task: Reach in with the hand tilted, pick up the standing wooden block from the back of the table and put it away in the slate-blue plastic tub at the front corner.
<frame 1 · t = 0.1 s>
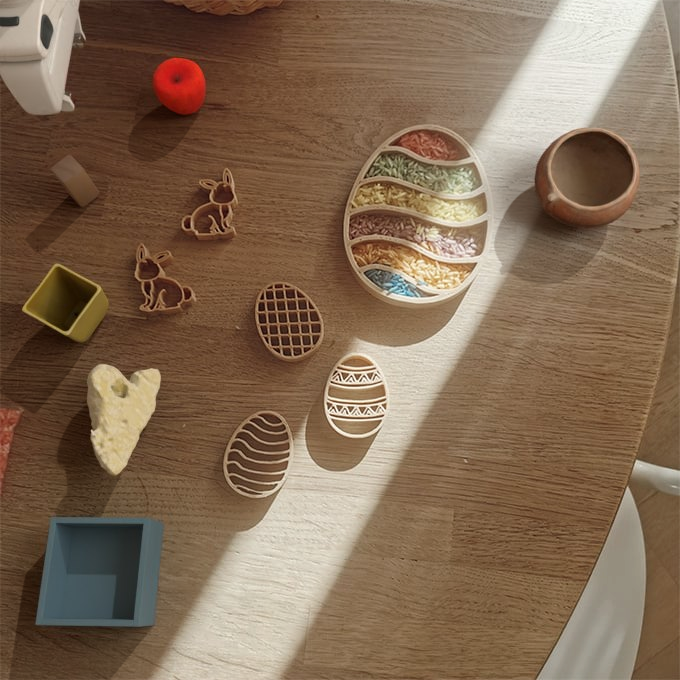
hand: (74, 75, 91), 33 cm above the table, tool pointing down, fingers open, 8 cm apart
apple: (187, 105, 129), on the table
wooden block: (85, 195, 124), on the table
bowl: (577, 197, 119), on the table
flower pot: (85, 321, 116), on the table
cheese: (135, 426, 110), on the table
tub: (111, 572, 102), on the table
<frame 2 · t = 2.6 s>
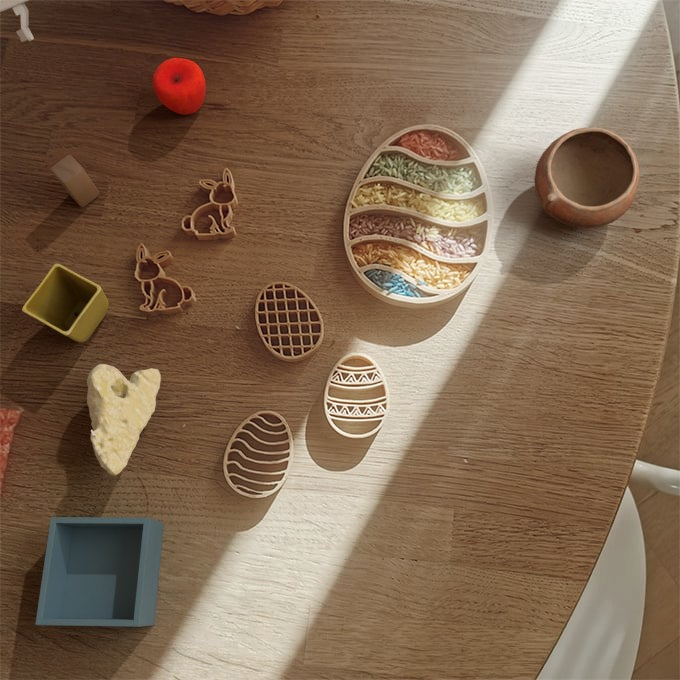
nothing on the table moved.
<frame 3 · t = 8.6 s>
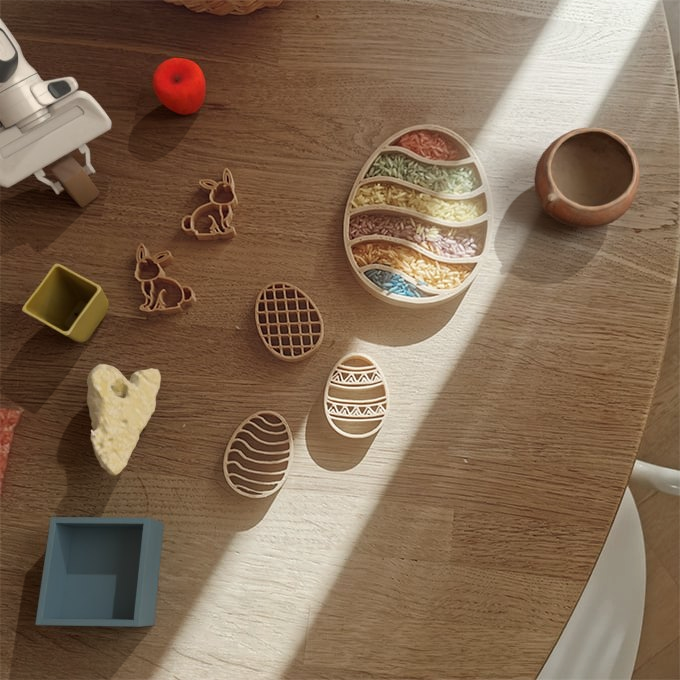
hand: (76, 183, 120), 4 cm above the table, tool tilted 45°, fingers closed on wooden block, 4 cm apart
wooden block: (85, 195, 124), on the table, touching gripper
everything else where it was.
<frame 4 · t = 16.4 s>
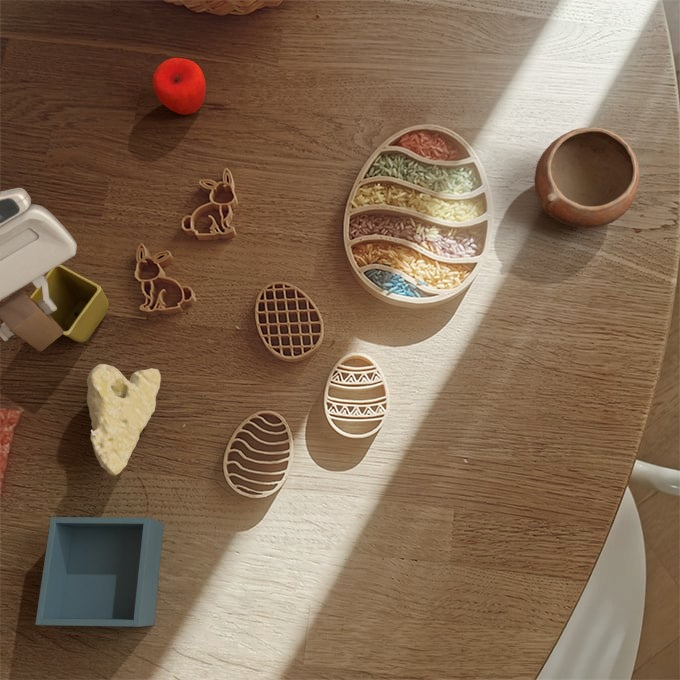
hand: (31, 324, 90), 23 cm above the table, tool tilted 45°, fingers closed on wooden block, 4 cm apart
wooden block: (45, 333, 95), point 19 cm above the table, touching gripper
everything else where it was.
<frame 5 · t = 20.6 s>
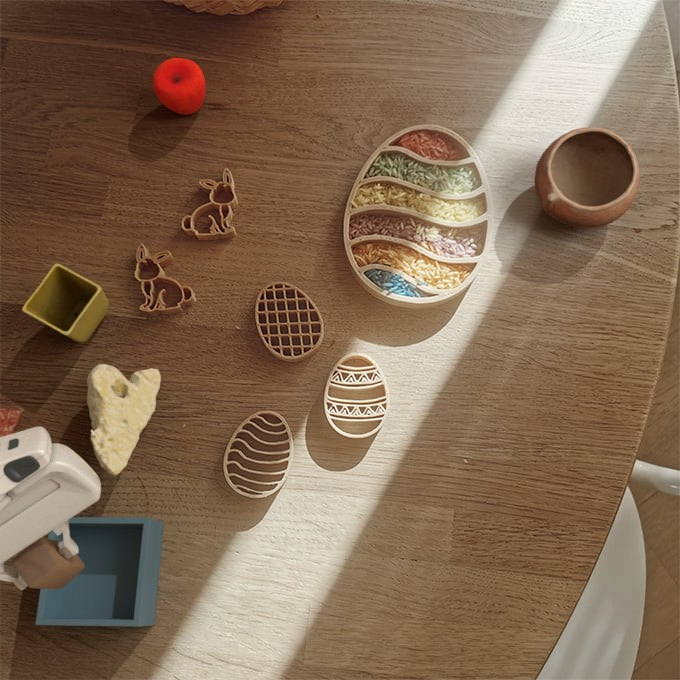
hand: (51, 568, 83), 21 cm above the table, tool tilted 45°, fingers closed on wooden block, 4 cm apart
wooden block: (65, 566, 87), point 16 cm above the table, touching gripper
everything else where it was.
when the fingers open (5 cm above the table, at t = 24.5 s): wooden block stays where it is, resting on tub.
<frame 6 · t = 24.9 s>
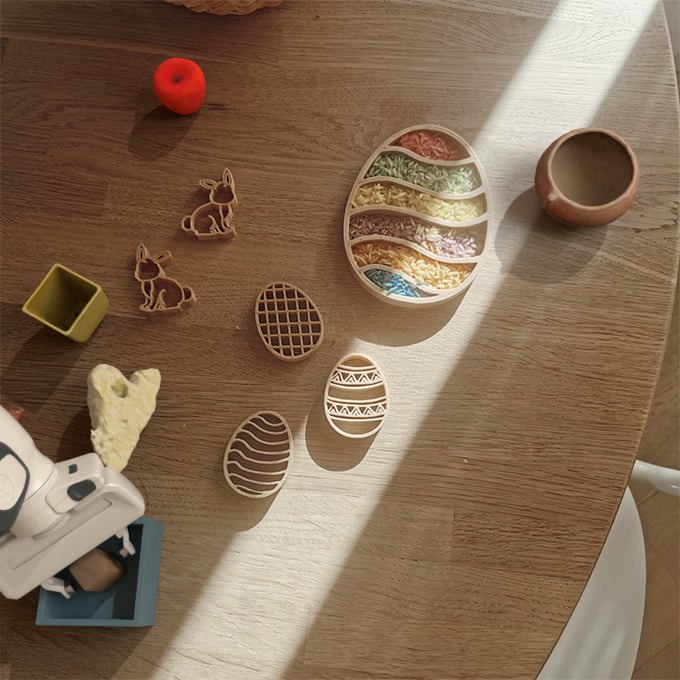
hand: (101, 573, 97), 5 cm above the table, tool tilted 45°, fingers open, 7 cm apart
wooden block: (110, 571, 102), point 1 cm above the table, touching tub
everything else where it was.
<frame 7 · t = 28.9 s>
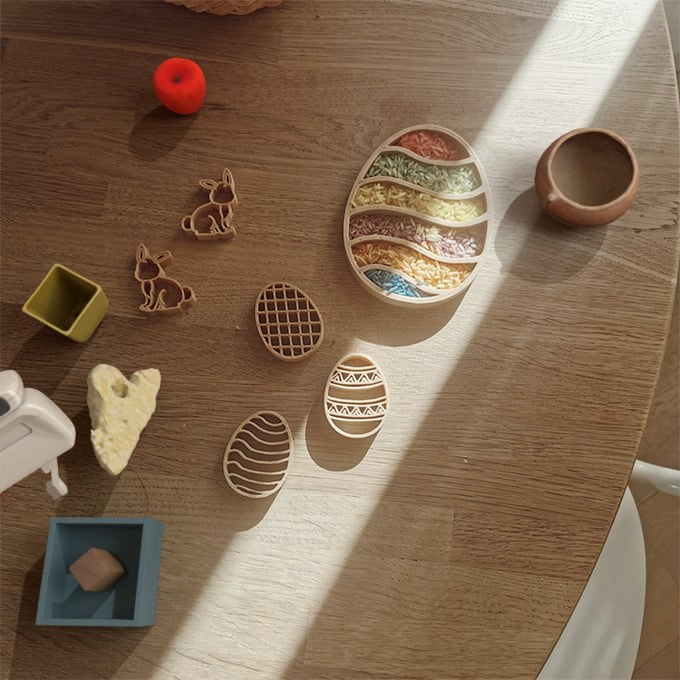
hand: (23, 519, 80), 26 cm above the table, tool tilted 45°, fingers open, 8 cm apart
nothing on the table moved.
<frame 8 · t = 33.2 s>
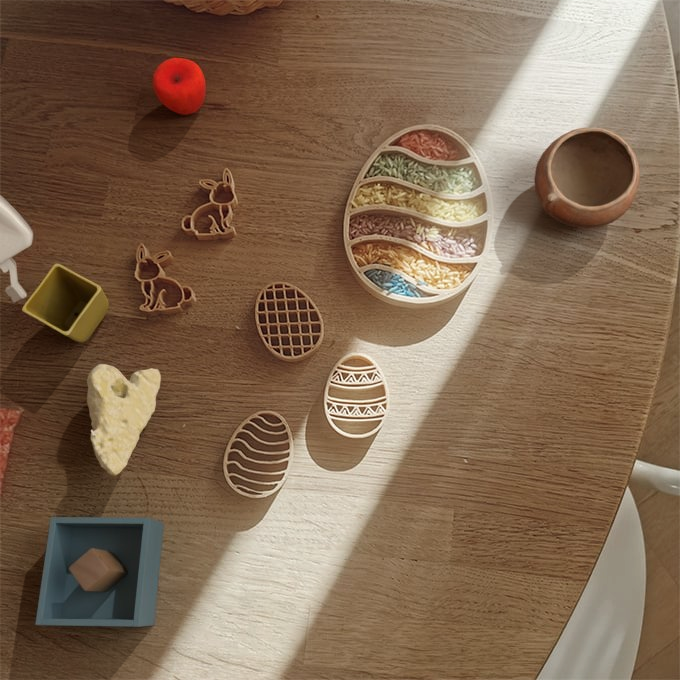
nothing on the table moved.
at the end: wooden block inside the target area in the tub (0.1 cm from its centre), point 0.6 cm above the tub's base; the gripper is holding nothing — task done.
